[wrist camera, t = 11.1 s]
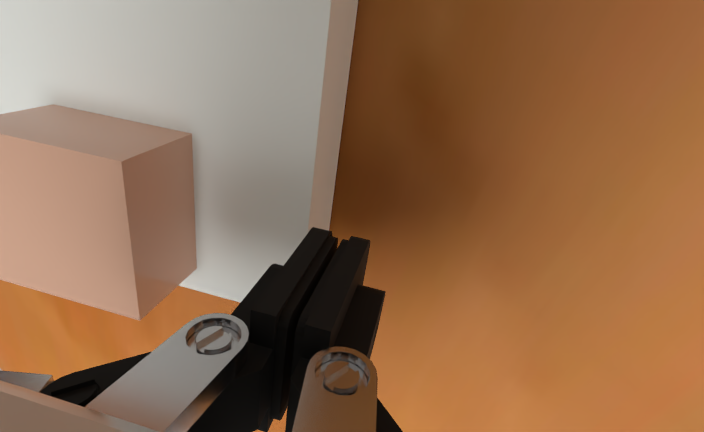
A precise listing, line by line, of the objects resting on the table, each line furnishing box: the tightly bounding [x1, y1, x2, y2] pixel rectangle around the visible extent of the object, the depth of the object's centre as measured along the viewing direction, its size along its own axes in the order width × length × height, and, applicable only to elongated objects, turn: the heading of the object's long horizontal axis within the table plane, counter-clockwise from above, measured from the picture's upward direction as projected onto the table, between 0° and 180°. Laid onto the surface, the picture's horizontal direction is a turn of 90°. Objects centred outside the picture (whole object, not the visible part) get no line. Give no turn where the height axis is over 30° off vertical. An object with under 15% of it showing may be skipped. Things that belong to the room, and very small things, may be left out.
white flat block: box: [0, 0, 358, 302], centre depth 13 cm, size 12×16×3 cm
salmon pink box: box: [0, 104, 197, 320], centre depth 13 cm, size 5×5×3 cm
